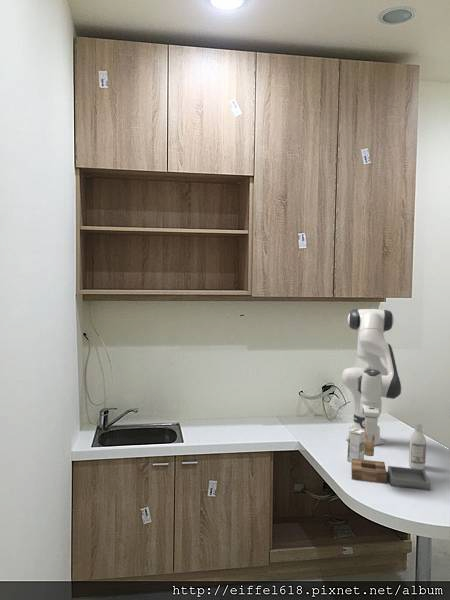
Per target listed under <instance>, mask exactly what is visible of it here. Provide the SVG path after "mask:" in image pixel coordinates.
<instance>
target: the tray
mask: <svg viewBox="0 0 450 600" xmlns="http://www.w3.org/2000/svg"><path fill="white" fill-rule="evenodd" d="M387 475H388V478H389V484H390V487H396V488H405V489H407V488H408V489H415V490H423V491H431V483H430V480H429V477H428V476H427V473H426V470H425V469H414V468H411V467H401V466H393V465H387Z"/></svg>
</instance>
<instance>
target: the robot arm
mask: <svg viewBox="0 0 450 600" xmlns="http://www.w3.org/2000/svg"><path fill="white" fill-rule="evenodd" d="M394 322H395V318H394V316H393V313H392V311H391V310H387V309H377V308H360V309H358V308H354V309H351V310H350V311H349V314H348V316H347V323H348V326H349V328H350V329H352V330H354V331H357V330H358V333H357V334H358V335H357V349H356V355H357V357H358V358H359V360H361V361H363V362H365V363H367V364H368V367H355V366H353V367H348V368H344V369H343V371H342V373H341V381H342V384H343V385H344V386H345V387H346V388H347V389H348V390H349V391H350V392H351V394H352V396H353V400H354V413H353V416H352V417H353V422H352V423H351V424H350V425H349V431H350V430H352V429H354V428H356V429H361V430H364V431H365V424H366V434H367V435H368V442H372V437H373V435H375V436H374V446H379V445H383V444H384V440H382V438H381V428H380V426H379V425H378V423H379V422H378V421H379V418H380V415H381V414H382V405H383V401H382V398H386V399H392V400H394V399H396V398H397V397H399V396H400V395H401V394H402V390H403V389H402V388H403V387H402V382H401V380H400V377H399V372H398V369H397V364H396V360H395V359H396V358H395V355H394V351H393V347H392V346H391V344H390V343H388V341H386V339H385V336H384V333H385V332H388V331H391V330H392V327H393V326H394V324H395V323H394ZM382 359H383V361H384V362H385V365H384V364H383V362H382ZM385 366H386V367H385ZM348 438H349V434H348V435H347V436H346V437H345V441H348Z"/></svg>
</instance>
